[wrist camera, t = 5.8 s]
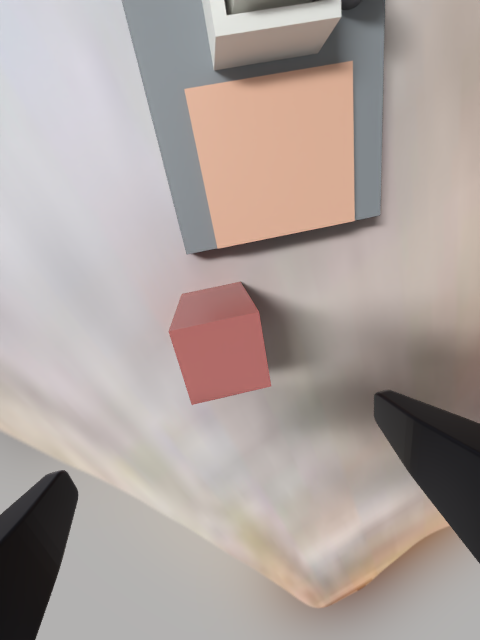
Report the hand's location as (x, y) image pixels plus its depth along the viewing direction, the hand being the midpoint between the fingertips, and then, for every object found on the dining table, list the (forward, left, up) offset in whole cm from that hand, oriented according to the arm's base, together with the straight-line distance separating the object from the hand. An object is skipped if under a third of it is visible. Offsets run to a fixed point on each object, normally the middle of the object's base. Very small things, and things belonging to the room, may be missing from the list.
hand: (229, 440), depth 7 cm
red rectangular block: (0, +1, -13) cm, 13 cm away
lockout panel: (-6, -12, -13) cm, 19 cm away
